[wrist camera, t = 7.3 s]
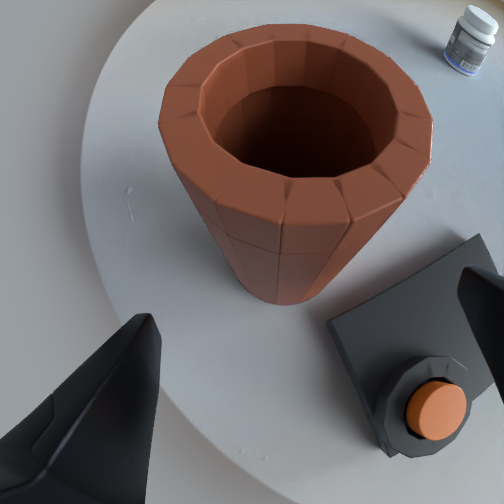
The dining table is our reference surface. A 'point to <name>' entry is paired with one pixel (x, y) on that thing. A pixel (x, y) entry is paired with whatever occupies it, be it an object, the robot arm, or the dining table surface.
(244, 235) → the jar
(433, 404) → the button
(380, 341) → the scale
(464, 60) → the pill bottle
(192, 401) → the dining table surface
